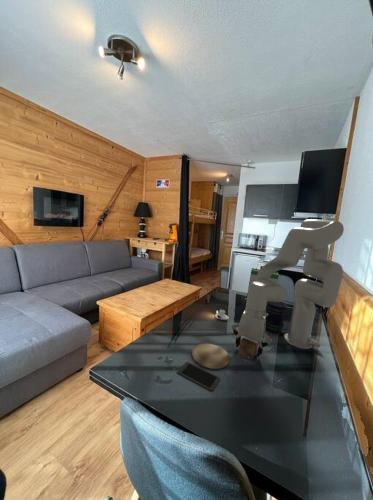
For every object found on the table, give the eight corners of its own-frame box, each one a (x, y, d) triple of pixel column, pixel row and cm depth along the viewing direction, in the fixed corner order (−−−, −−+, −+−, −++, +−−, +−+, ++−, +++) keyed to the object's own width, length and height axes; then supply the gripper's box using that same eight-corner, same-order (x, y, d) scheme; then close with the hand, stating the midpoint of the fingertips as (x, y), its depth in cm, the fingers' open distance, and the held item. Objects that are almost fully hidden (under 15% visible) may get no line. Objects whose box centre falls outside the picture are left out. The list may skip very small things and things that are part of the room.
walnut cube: (256, 353, 93) (258, 340, 92) (252, 360, 88) (254, 346, 87) (243, 347, 96) (245, 335, 96) (238, 353, 91) (240, 340, 91)
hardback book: (245, 303, 153) (251, 269, 149) (246, 299, 160) (251, 268, 156) (272, 309, 147) (278, 274, 144) (272, 305, 154) (278, 272, 151)
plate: (235, 355, 90) (235, 353, 90) (219, 375, 77) (219, 372, 77) (203, 341, 98) (203, 339, 98) (184, 356, 85) (185, 354, 85)
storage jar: (261, 329, 115) (265, 303, 113) (263, 323, 124) (268, 298, 122) (281, 336, 111) (286, 308, 109) (282, 328, 119) (287, 303, 117)
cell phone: (186, 362, 82) (186, 361, 82) (220, 379, 75) (221, 377, 75) (175, 373, 76) (176, 371, 76) (212, 393, 69) (212, 391, 69)
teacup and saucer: (228, 322, 120) (229, 315, 120) (214, 319, 122) (215, 312, 121) (228, 315, 129) (229, 309, 128) (215, 313, 130) (216, 306, 130)
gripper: (278, 316, 88) (271, 355, 91) (237, 303, 97) (232, 338, 100) (274, 322, 82) (266, 364, 84) (231, 307, 91) (225, 345, 94)
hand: (247, 350), depth 92 cm, fingers open, 8 cm apart
